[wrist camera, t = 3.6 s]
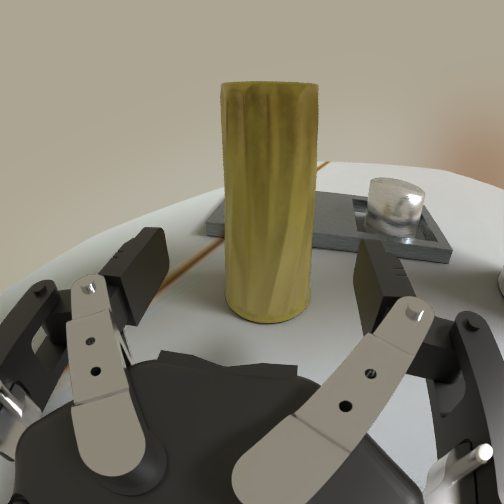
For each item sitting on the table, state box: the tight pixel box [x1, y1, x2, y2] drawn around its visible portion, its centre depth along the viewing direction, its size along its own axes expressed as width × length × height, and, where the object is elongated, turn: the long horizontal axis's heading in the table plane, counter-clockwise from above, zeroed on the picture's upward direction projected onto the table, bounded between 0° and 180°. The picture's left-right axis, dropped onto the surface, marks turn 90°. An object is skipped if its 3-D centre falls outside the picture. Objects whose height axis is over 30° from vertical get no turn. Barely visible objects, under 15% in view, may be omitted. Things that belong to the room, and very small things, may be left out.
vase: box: [220, 81, 318, 323], centre depth 18 cm, size 6×6×14 cm
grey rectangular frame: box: [206, 178, 453, 263], centre depth 30 cm, size 24×11×5 cm, turn 76°
